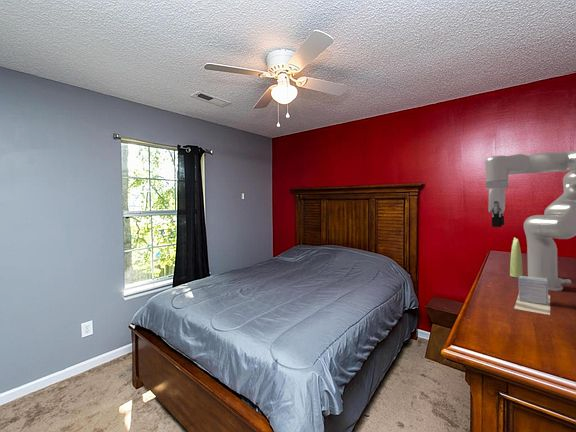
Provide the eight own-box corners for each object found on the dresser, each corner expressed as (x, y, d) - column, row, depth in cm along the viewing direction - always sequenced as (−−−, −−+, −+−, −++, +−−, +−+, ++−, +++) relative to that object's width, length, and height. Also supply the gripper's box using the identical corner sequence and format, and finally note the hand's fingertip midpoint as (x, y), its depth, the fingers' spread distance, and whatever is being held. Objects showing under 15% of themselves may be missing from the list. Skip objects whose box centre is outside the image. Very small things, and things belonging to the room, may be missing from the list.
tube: (526, 277, 135) (526, 238, 134) (518, 278, 133) (517, 239, 133) (514, 275, 140) (514, 237, 140) (507, 276, 139) (506, 237, 138)
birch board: (519, 294, 112) (519, 291, 112) (550, 299, 105) (550, 295, 105) (514, 312, 94) (514, 308, 94) (550, 319, 88) (550, 314, 88)
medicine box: (548, 302, 99) (548, 278, 98) (548, 305, 95) (547, 281, 95) (519, 297, 104) (519, 275, 104) (518, 301, 101) (518, 277, 101)
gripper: (488, 186, 124) (490, 224, 125) (483, 186, 112) (484, 227, 112) (510, 185, 119) (511, 224, 120) (506, 184, 106) (507, 227, 107)
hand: (498, 225), depth 116 cm, fingers open, 9 cm apart
